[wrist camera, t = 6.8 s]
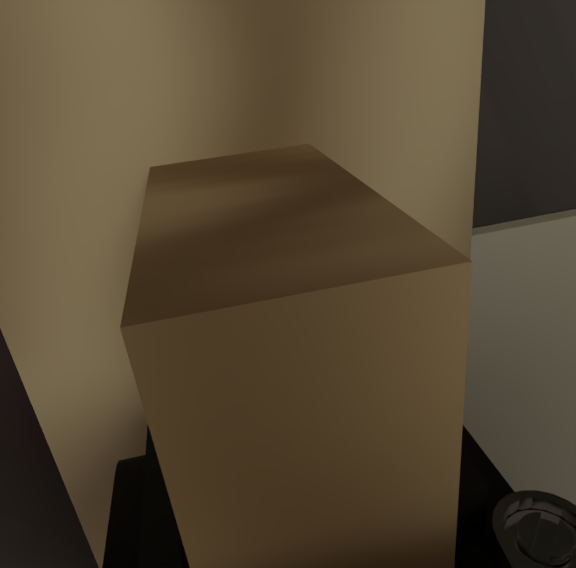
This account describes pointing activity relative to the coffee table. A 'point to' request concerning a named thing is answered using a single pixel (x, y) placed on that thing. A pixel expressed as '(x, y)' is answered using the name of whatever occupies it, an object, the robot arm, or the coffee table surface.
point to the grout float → (247, 264)
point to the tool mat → (524, 351)
